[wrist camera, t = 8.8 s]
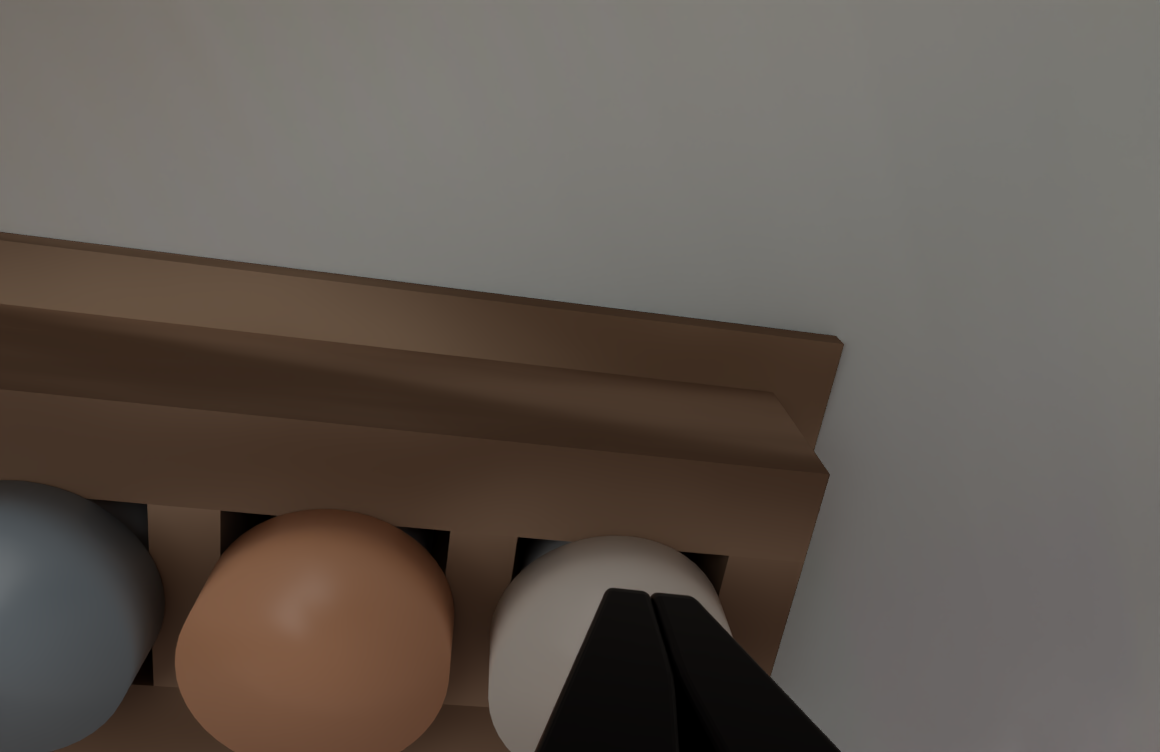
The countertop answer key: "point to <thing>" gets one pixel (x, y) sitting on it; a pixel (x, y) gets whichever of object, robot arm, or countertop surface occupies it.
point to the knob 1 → (70, 612)
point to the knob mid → (319, 637)
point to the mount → (403, 436)
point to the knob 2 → (569, 618)
